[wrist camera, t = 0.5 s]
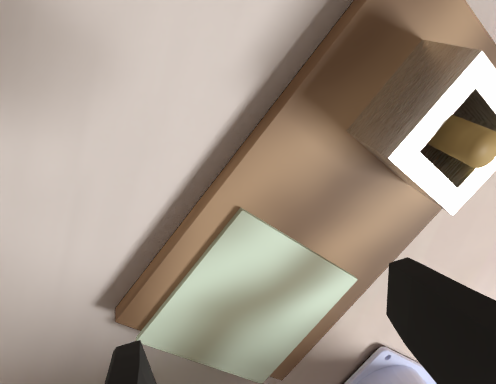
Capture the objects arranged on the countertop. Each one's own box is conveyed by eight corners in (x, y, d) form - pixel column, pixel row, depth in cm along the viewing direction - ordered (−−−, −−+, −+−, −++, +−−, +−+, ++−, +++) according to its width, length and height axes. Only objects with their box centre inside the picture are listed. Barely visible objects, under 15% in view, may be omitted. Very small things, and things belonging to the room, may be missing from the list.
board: (522, 101, 23) (627, 131, 18) (271, 373, 27) (304, 454, 23) (404, -65, 17) (512, -82, 12) (110, 315, 22) (108, 408, 17)
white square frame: (476, 105, 21) (536, 126, 18) (406, 183, 22) (453, 215, 19) (422, 39, 18) (482, 50, 15) (346, 131, 19) (388, 158, 16)
